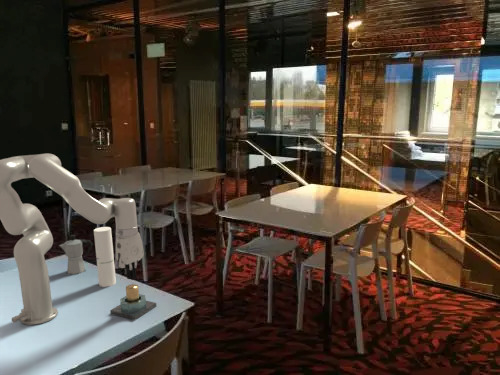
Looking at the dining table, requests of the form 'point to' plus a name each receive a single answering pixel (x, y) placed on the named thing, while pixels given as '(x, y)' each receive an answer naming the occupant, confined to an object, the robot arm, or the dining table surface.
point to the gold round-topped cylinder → (132, 293)
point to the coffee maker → (75, 254)
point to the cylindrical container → (105, 256)
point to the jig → (133, 308)
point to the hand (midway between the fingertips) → (131, 278)
